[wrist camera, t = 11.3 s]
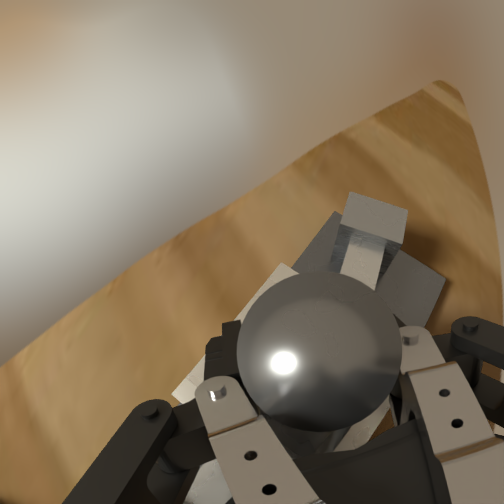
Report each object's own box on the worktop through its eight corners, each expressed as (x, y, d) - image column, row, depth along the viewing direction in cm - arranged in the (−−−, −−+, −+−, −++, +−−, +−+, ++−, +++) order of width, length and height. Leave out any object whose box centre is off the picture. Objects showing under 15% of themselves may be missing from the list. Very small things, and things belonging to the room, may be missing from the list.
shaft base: (239, 562, 12) (226, 599, 8) (123, 472, 15) (79, 481, 11) (440, 283, 19) (474, 247, 15) (333, 218, 23) (343, 169, 18)
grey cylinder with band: (288, 439, 14) (297, 465, 6) (244, 375, 16) (206, 325, 8) (354, 394, 15) (431, 361, 7) (310, 333, 16) (337, 244, 9)
